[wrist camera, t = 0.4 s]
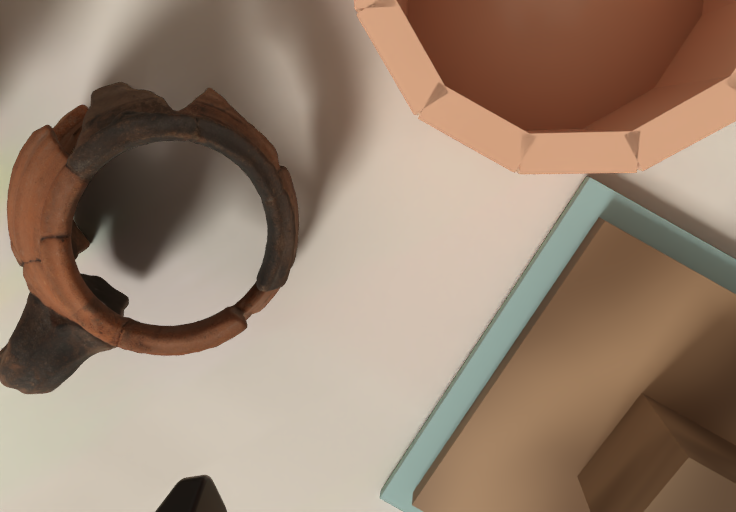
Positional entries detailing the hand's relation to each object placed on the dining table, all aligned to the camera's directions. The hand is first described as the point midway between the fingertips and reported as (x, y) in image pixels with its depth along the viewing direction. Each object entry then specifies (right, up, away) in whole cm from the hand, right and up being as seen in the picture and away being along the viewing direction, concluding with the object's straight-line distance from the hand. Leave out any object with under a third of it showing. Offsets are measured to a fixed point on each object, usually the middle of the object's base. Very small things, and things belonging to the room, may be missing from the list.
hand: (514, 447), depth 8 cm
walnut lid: (+8, -5, +13) cm, 16 cm away
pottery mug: (-10, +4, +14) cm, 18 cm away
